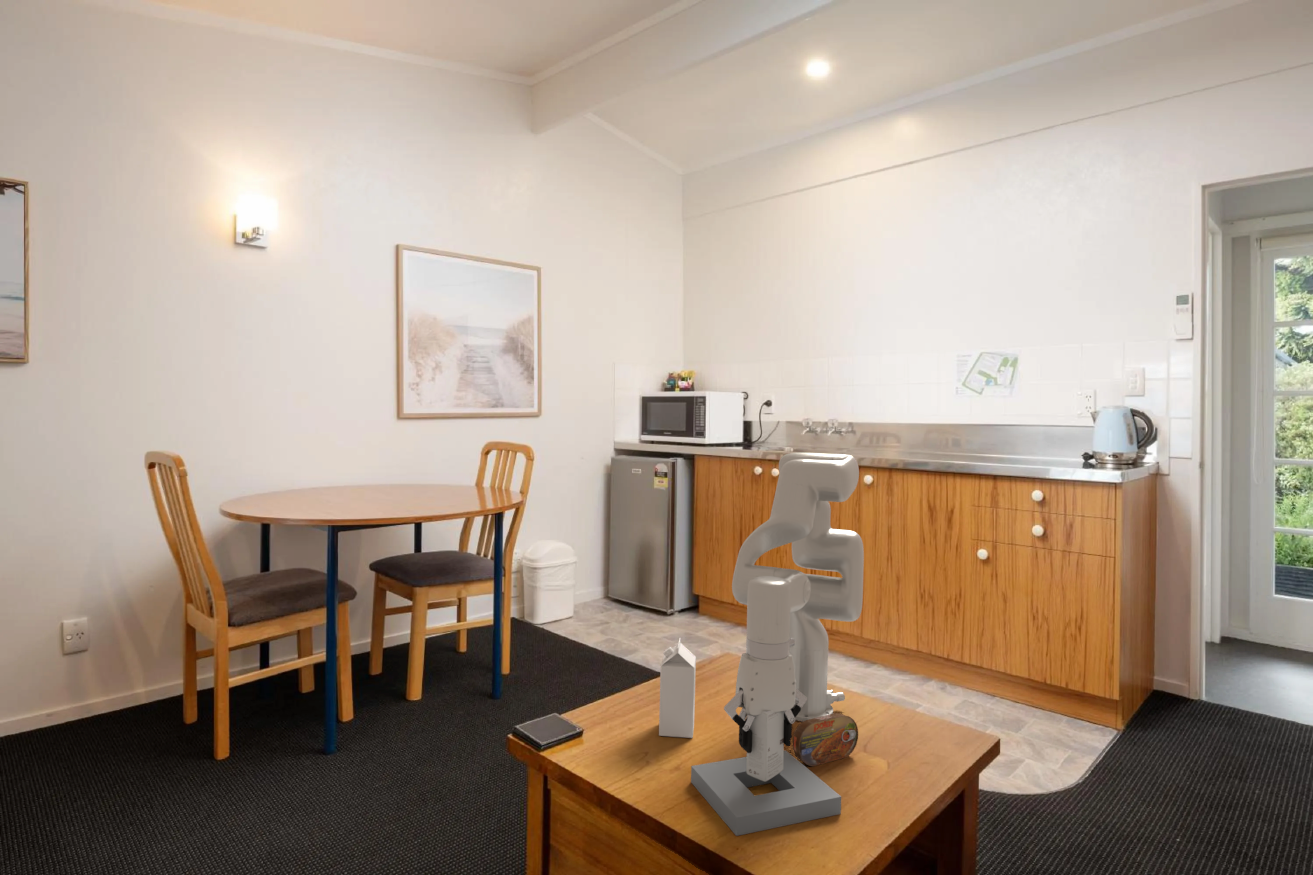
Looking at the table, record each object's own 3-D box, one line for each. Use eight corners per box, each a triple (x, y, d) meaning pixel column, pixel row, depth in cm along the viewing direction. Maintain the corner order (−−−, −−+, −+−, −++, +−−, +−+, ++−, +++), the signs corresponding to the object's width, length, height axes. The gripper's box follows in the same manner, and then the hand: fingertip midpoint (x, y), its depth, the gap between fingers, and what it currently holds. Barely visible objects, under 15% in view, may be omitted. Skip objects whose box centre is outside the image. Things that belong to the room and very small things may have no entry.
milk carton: (694, 724, 158) (696, 638, 158) (692, 738, 151) (694, 648, 150) (661, 722, 159) (663, 636, 158) (658, 736, 152) (660, 646, 151)
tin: (799, 770, 139) (800, 726, 139) (789, 763, 142) (790, 720, 141) (858, 754, 146) (860, 713, 146) (848, 748, 149) (849, 707, 148)
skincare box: (766, 782, 125) (768, 714, 124) (744, 773, 128) (746, 706, 127) (784, 769, 130) (786, 703, 129) (763, 761, 133) (764, 696, 132)
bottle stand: (785, 765, 140) (785, 750, 140) (840, 813, 124) (841, 796, 124) (690, 781, 133) (691, 765, 133) (736, 835, 116) (736, 817, 116)
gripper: (798, 636, 134) (796, 729, 135) (713, 646, 128) (711, 744, 129) (821, 649, 127) (818, 747, 128) (733, 660, 121) (731, 764, 122)
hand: (765, 745), depth 129 cm, fingers closed on skincare box, 7 cm apart
